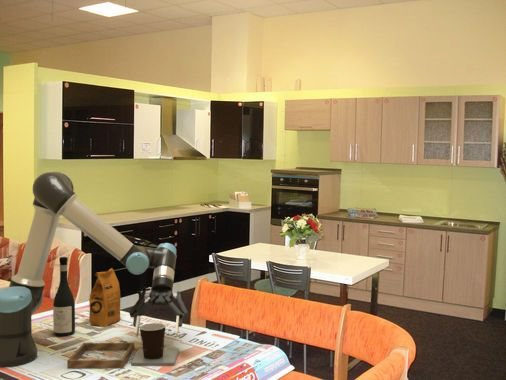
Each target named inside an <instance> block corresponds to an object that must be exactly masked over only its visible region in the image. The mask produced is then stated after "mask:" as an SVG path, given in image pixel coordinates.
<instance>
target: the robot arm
mask: <svg viewBox="0 0 506 380" xmlns="http://www.w3.org/2000/svg"><path fill="white" fill-rule="evenodd" d="M32 194H33V196H34V199H33V201H32V202H33V203H32V206H33V208H34V215H33V218H32V221H31V225H30V229H29V231H28V236H27V239H26V242H25V246H24V250H23V252H22V257H21V260H20V264H19V267H18V271H17V273H16V274H15V275H13V276H12V277H11V278H10V282H9V285H8V287H5V288H2V289H0V367H15V366H20V365H24V364H28V363H30V362H33V361H35V360H36V359H37V358H38V347H37V344H36V342H35V339H34V337H33V333H32V332H33V331H32V329H33V328H32V322H33V321H32V316H33V315H34V313H36V311H37V310H39V308H40V307H41V306H42V305H41V304H42V303H43V298H44V295H43V293H44V290H45V285H46V283H45V281H44V279H43V276H44V273H45V270H46V266H47V263H48V258H49V255H50V252H51V248H52V245H53V242H54V238H55V235H56V231H57V228H58V224H59V221H60V218H61V216H62V217H63V218H65V219H66V220H67V221H68V222H70V223H71V224H72V225H74V226H75V227H76V228H77V229H79V230H80V231H81V232H82V233H83V234H85V235H86V236H87V237H89V238H90V239H91V240H92V241H94V242H95V243H96V244H98V245H99V246H100V247H101V248H102V249H104V250H105V251H106V252H107V253H109V254H110V255H112V256H113V257H114V258H116V260H118V261H119V262H120V263H121V264H123V266H124V267H126V269H127V270H128V272H129V273H131V274H133V275H141V274H143V273H145V272H146V270H147V269H148V268H149V269H154V270H153V276H152V284H151V291H150V292H146V291H144V290H143V291H141V295H140V297H139V298H138V300H137V301H136V302H135V303H134V305H133V306H132V308H131V309H130V310H129V313H128V314H129V316H130V318H133V321H132V324H133V327H134V336H135V337H136V338H137V337H139V333H140V332H139V331H140V325H141V317H142V316H143V315H144V314H145V313H146V312H147V311H148V310H149V309H150V308H151V307H154V306H168V307H169V308H170V309H171V310H172V312H174V314H175V315H176V321H175V330H174V331H175V332H174V334H175V337H176V338H178V337H179V328H182V326H183V321H184V319H185V318H188V317H189V311H188V310H187V308H186V305H185V303H184V301H183V299H182V296H181V291H180V290H179V291H178V290H177V292H173V289H174V280H175V279H174V278H175V272H176V270H175V269H176V262H177V248H176V246H175V245H174V244H172V243H169V242H164V243H160V244H158V245H157V247H147V246H142V245H136V244H134V243H132V242H131V241H130V240H129V239H128V238H127V237H126V236H124V235H123V234H122V233H121V232H119V231H118V230H117V229H116V228H114V227H113V226H111V225H110V224H109V223H108V222H107V221H105V219H103V218H102V217H101V216H99V215H98V214H97V213H96V212H94V211H93V210H92V209H91V208H90V207H89V206H87V205H86V204H85V203H83V202H82V201H81V200H80V199H79V198H78V196H77V193H76V192H74V184H73V181H72V179H71V178H70V177H69V176H68V175H67V174H65V173H64V172H63V173H62V172H61V171H60V172H58V171H50V172H48V171H47V172H44V173H42V174H40V175H38V176H37V177H36V178H35V180H34V181H33V184H32ZM148 298H149V299H148ZM173 298H174V299H175V300H177V303H178V305H179V307H180V309H181V310H180V309H179V308H178V307H177V305H176V304H175V303H174V302H173V301H172V299H173ZM146 300H147V301H146ZM145 301H146V302H145Z"/></svg>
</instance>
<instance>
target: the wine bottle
mask: <svg viewBox="0 0 506 380" xmlns="http://www.w3.org/2000/svg"><path fill="white" fill-rule="evenodd" d="M68 261H69V260H68V257H67V256H62V257H59V276H60V277H59V285H58V287H57V290H56V293H55V296H54V299H53V305H52V310H53V313H52V314H53V315H52V316H53V317H52V318H53V320H52V321H53V334H54V335H55V336H59V337H66V336H70V335H71V336H72V335H73V334H74V333H75V332H76V311H75V310H76V309H75V308H76V304H75V298H74V294H73V292H72V291H71V288H70V285H69V282H68V281H69V280H68Z"/></svg>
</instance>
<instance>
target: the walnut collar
mask: <svg viewBox="0 0 506 380" xmlns="http://www.w3.org/2000/svg"><path fill="white" fill-rule="evenodd" d="M135 346H136V345H135V342H83V343H82V344H81V345H80V346H79V347H78V349H76V350H75V351H74V353H73V354H72V355H71V356H70V357H69V358H68V359H67V361H66V362H67V364H66V365H67V366H66V367H67V369H125V366H126V364H127V363H128V361H129V359H131V356H132V354H133V353H134V351H135V350H136V349H135V348H136V347H135ZM94 350H97V352H98V351H100V352H101V351H103V352H104V351H106V352H107V351H125V353H124V354H123V355H122V357H121V359H120V358H119V359H118V358H117V359H116V358H115V359H111V358H109V359H80V358H81V357H82V355H84V353H85V352H87V351H89V352H91V351H94ZM94 352H95V351H94Z"/></svg>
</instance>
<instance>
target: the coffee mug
mask: <svg viewBox="0 0 506 380" xmlns="http://www.w3.org/2000/svg"><path fill="white" fill-rule="evenodd" d="M166 327H167V326H166V324H164V323H159V322H152V323H146V324H143V325H141V326H139V331H140V332H139V333H140V338H141V346H142V349H143V354H144V358H146V359H158V358H161V357H162V356H163V349H164V347H165V337H166V336H165V335H166Z"/></svg>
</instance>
